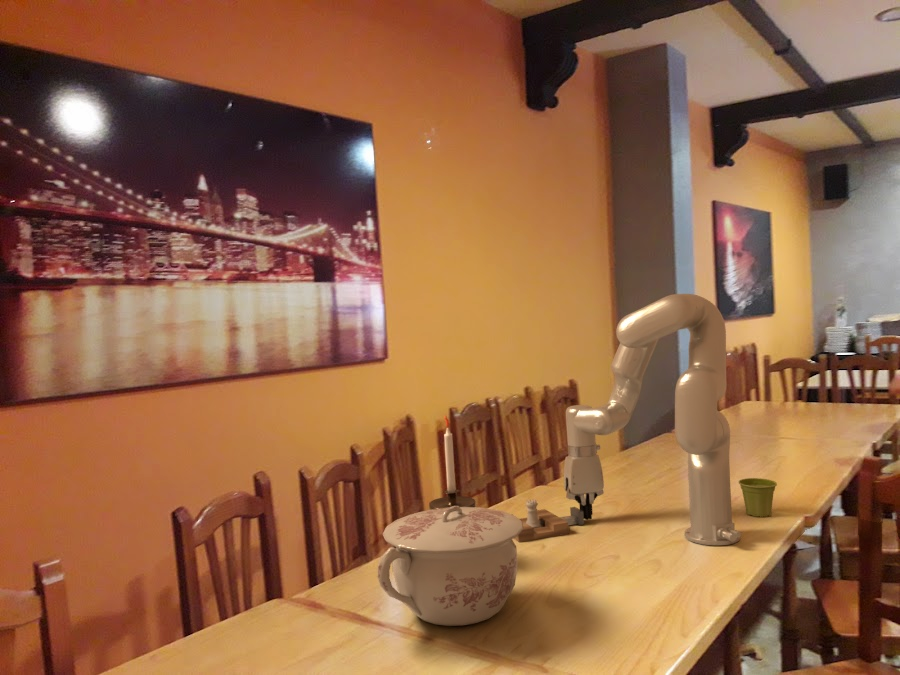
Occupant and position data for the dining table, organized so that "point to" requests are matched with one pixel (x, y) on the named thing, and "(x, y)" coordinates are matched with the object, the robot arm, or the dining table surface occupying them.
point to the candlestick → (450, 480)
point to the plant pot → (758, 495)
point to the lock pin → (571, 517)
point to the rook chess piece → (532, 514)
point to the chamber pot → (452, 563)
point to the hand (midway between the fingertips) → (586, 518)
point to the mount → (552, 527)
